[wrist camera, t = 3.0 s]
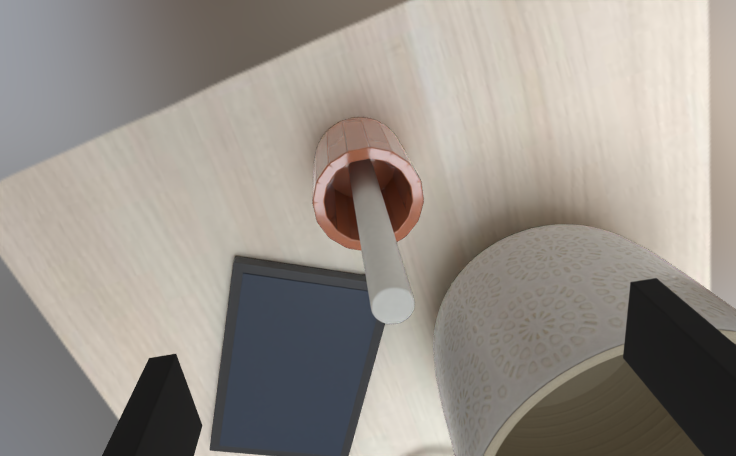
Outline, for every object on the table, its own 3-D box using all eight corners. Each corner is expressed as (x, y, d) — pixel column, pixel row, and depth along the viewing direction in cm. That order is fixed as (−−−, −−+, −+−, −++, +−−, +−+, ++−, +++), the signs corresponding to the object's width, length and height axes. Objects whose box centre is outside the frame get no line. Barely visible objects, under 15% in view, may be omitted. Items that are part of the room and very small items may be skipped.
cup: (307, 194, 33) (304, 242, 26) (323, 108, 31) (324, 138, 24) (391, 209, 34) (408, 258, 27) (412, 126, 32) (435, 159, 25)
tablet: (211, 441, 41) (209, 451, 40) (235, 255, 34) (233, 262, 33) (346, 453, 43) (346, 463, 42) (393, 279, 36) (395, 286, 35)
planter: (380, 251, 35) (420, 418, 21) (620, 156, 33) (830, 269, 20) (455, 418, 42) (521, 625, 28) (655, 346, 41) (828, 527, 27)
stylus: (345, 173, 32) (366, 322, 17) (350, 150, 31) (376, 284, 17) (369, 177, 32) (408, 327, 17) (374, 154, 31) (420, 290, 17)
